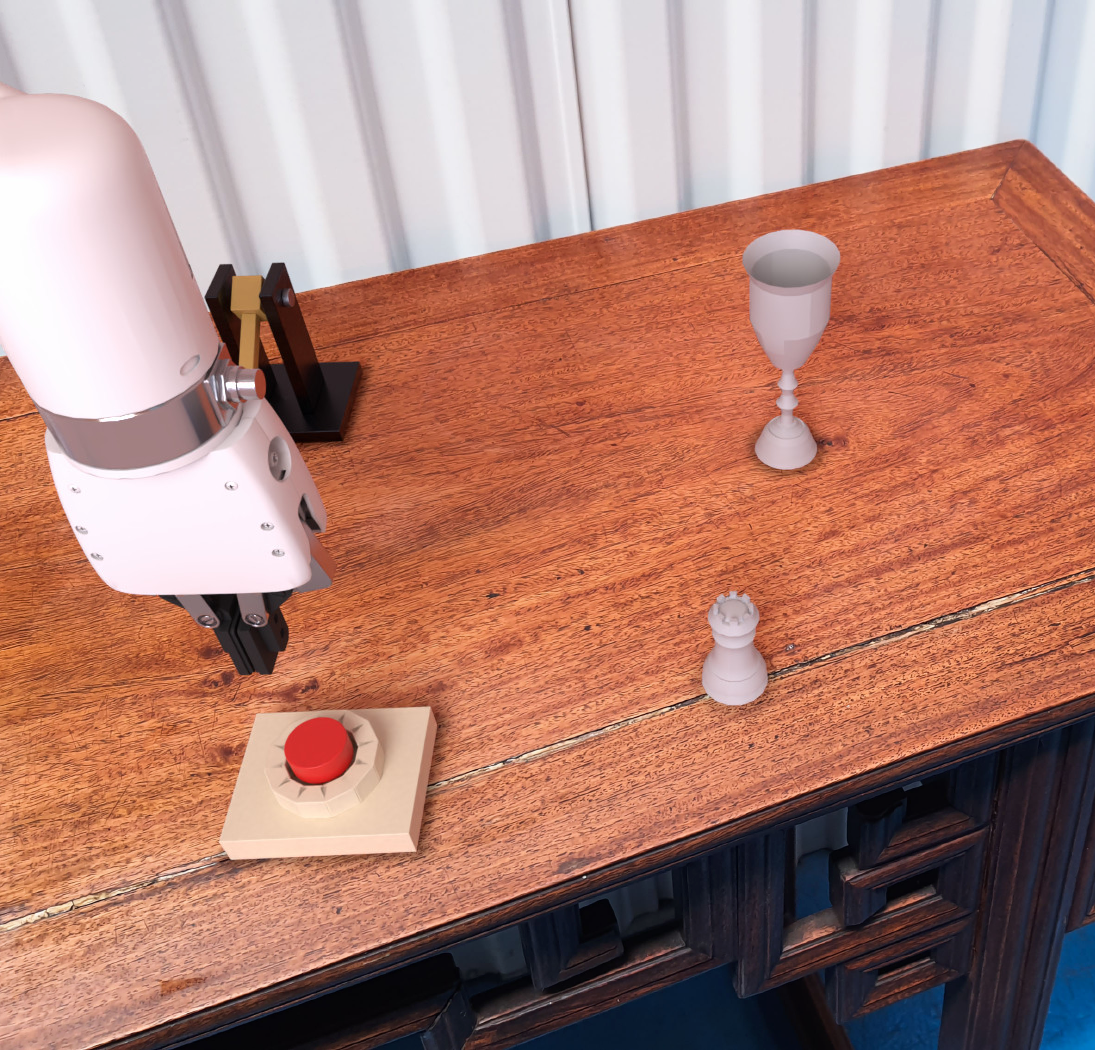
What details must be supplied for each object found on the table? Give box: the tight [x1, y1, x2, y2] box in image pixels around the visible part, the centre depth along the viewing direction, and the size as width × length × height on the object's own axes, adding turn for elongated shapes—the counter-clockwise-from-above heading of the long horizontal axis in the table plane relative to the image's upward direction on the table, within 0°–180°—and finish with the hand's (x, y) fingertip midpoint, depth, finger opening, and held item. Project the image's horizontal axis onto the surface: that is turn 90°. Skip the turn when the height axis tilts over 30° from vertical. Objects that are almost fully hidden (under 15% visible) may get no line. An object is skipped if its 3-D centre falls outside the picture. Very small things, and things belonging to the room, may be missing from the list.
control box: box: [218, 706, 438, 861], centre depth 71 cm, size 11×9×4 cm
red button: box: [284, 717, 354, 784], centre depth 69 cm, size 4×4×2 cm
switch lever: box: [231, 274, 268, 369], centre depth 89 cm, size 15×3×3 cm
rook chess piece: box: [701, 590, 769, 706], centre depth 75 cm, size 4×4×8 cm
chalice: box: [741, 229, 841, 471], centre depth 88 cm, size 7×7×18 cm
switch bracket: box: [203, 262, 364, 444], centre depth 93 cm, size 9×10×13 cm
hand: (263, 653), depth 63 cm, fingers closed
